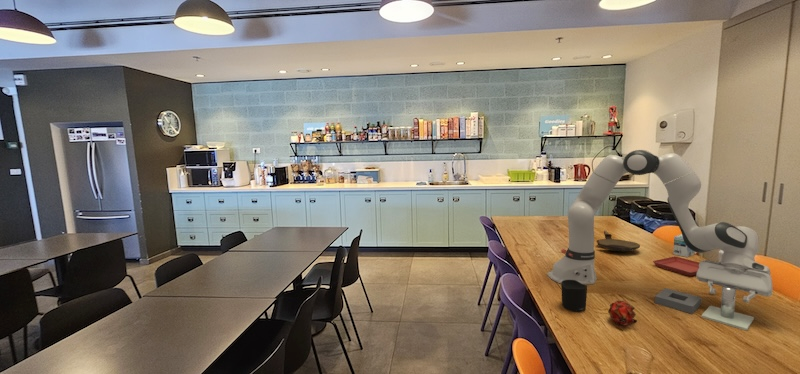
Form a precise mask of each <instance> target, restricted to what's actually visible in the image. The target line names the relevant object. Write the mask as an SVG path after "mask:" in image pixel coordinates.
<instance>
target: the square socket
mask: <svg viewBox="0 0 800 374" xmlns="http://www.w3.org/2000/svg"><path fill="white" fill-rule="evenodd" d="M702 299H703V297H701V296H698V295H694V294H690V293H686V292H683V291H679V290H675V289H671V288H666V287H665V288H664V289H662V290H661V291H660V292H658V293H657V294H656V295H655V296H654V304H656V305H660V306H663V307H667V308H670V309H674V310H677V311H680V312H684V313H688V314H691V315H693V314H694V313H695V312H696V311H697V310H698V309H699V308H700V306H701V305H702V302H703V300H702Z"/></svg>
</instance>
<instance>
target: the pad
mask: <svg viewBox="0 0 800 374" xmlns="http://www.w3.org/2000/svg"><path fill="white" fill-rule="evenodd" d="M720 314H721V307H718V306H714V305H709V306H708V308H707V309H705V311H704V312H703V313H702V314H701V318H702V319H706V320H710V321H712V322H716V323H719V324H723V325H726V326H729V327H733V328H737V329H740V330H743V331H748V330H749V328H750V327H751V325H752V322H753V321H754V319H755V317H754V316H751V315H748V314H744V313H740V312H737V311H734V318H732V319H730V318H725V317H723V316H721V315H720Z"/></svg>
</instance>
